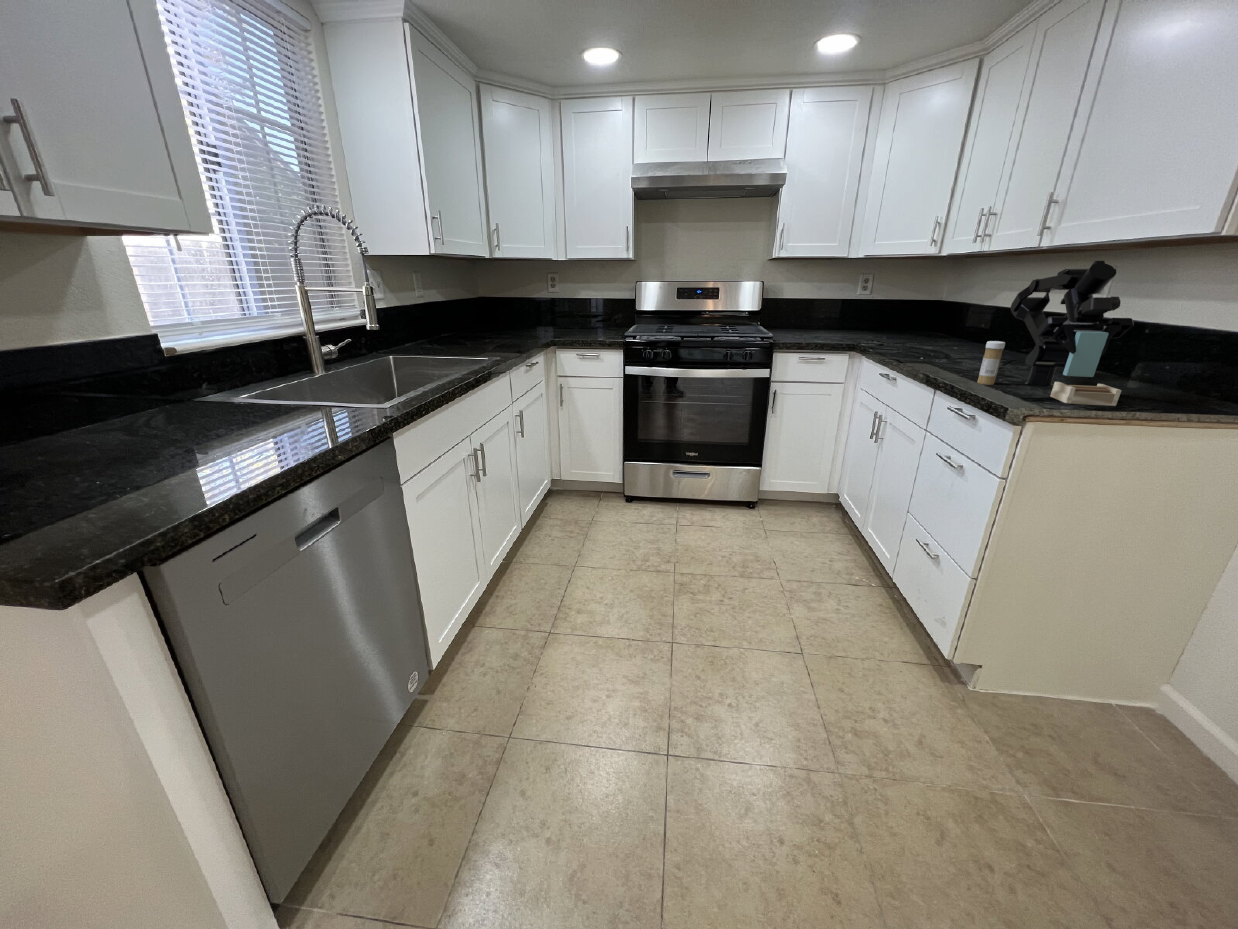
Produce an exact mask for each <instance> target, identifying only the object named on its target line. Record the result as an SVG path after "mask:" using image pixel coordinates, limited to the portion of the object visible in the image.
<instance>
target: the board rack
mask: <svg viewBox="0 0 1238 929" xmlns="http://www.w3.org/2000/svg"><path fill="white" fill-rule="evenodd" d="M1053 384H1054V385H1052V390H1051V393H1050V397H1051V398H1053V399H1055V400H1058V401H1060V402H1062V403H1065V404H1070V405H1071V404H1074V405H1089V406H1090V405H1091V406H1092V405H1093V406H1094V405H1095V406H1112V407H1116V406H1117V404H1118V401H1119V398H1120V395H1121V393H1122V390H1121V389H1119V388H1116V387H1112V386H1109V385H1107V384H1104V383H1097V385H1096V386H1104V387H1107V389H1108V390H1110V393H1100V392H1079V391H1075V389H1076V388H1074V387H1071V386H1069V385H1070V384H1066V383H1064V382H1060V381H1054V383H1053Z"/></svg>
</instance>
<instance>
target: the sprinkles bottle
mask: <svg viewBox="0 0 1238 929" xmlns="http://www.w3.org/2000/svg"><path fill="white" fill-rule="evenodd" d="M1005 346H1006V342H1005V341H999V340H994V341H993V340H989V341H987V342H986V344H985V351H984V354H983V357H982V361H981V366H980V370H979V374H978V379H977V381H976V383H977V384H980V385H989V386H991V385H993V386H994V385H995V381H996V378H997V375H998V371H999V368H1000V364H1001V359H1002V356H1003V351H1004V349H1005Z"/></svg>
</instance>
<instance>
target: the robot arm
mask: <svg viewBox="0 0 1238 929" xmlns="http://www.w3.org/2000/svg"><path fill="white" fill-rule="evenodd" d="M1116 275H1117V269H1116V268H1114V266H1112V265H1111V264H1108V263H1106V262H1105V260H1095V261H1093V263H1092V264H1091V266H1090V267H1089V268H1063V270H1061V271H1058V272H1057V274H1056V275H1053V276H1048V277H1044V278H1043V277H1042V278H1036V279H1032V280H1031V282H1030V284H1029V285H1028V286H1027V287H1025V288H1024V289H1022V290H1021V291H1019V292H1018V293H1017V294H1016V296H1015V298H1014V300H1012V302H1011V305H1010V312H1011V314H1012V315H1013V316H1014V317H1015V318H1016V319H1018V320H1021V321H1023V322H1024V323H1025V326H1026V327H1027V329H1028V331H1029V333H1030V335H1031V337H1032V340H1033V341H1034V343H1035V346H1034V347H1033V349H1032V350H1031V351H1030V352H1029V353H1028V354H1027V356H1026V357H1025V365H1027V366H1031V369H1030V373H1029V376H1028V380H1027V381H1026V382H1025V383H1024V385H1033V386H1039V387H1041V386H1043V387H1045V386H1054V383H1053V380H1054V377H1055V374H1056V371H1057V368H1065V366H1066V363H1067V360H1068V357H1069V354H1070V352H1071V353H1072V354H1074V353H1075V352H1076V344H1075V339H1074V338H1075V335H1074V332H1106V333H1109V334H1108V337H1107V340H1106V342H1105V345H1104V348H1103V351H1102V353H1101V356H1102V355H1104V354H1105V353H1106V352H1107V348H1108V346H1109V343H1110V340H1111V339H1112V340H1117V339H1120V338H1122V337H1123V336H1125V334H1126V333H1127V332H1128V331H1129V330H1130V329H1131V328H1133V327H1134V326H1135V324H1134V323H1135V322H1134V320H1133V318H1131V317H1112V318H1111V319H1110V320H1109V321H1108V322H1107V323H1101V322H1100V323H1099V321H1100V320H1102V319H1103V318H1105V314H1106V313H1108V312H1111V311H1113V312H1114V311H1115V310H1117V309H1119V308H1120V306H1121V298H1120V296H1109V297H1102V296H1101V297H1100V296H1099V297H1094V296H1093V295H1096V294H1099V293H1100V292H1102V290H1104V288H1105V287H1107V285H1108V284H1109V283H1110V282H1111V281H1112V280H1113V279H1114V277H1115V276H1116ZM1056 290H1058V291H1066V292H1065V293H1064V294H1063V298H1062V299H1061V300H1060V303H1059V304H1060V305H1065V310H1066V313H1065V314H1064V315H1063V316H1048V317H1046V316H1045V314H1044V310H1045V309H1046V308H1047V306H1048V305H1049V303H1050V301H1051V299H1050V293H1051V291H1056ZM1034 293H1045V295H1044V296H1043V297H1042V296H1041V297H1038V296H1037V297H1036V296H1035V297H1033V296H1032V295H1033V294H1034ZM1030 296H1031V297H1030Z"/></svg>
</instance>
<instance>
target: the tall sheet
mask: <svg viewBox="0 0 1238 929" xmlns="http://www.w3.org/2000/svg"><path fill="white" fill-rule="evenodd" d="M1108 334H1109V333H1106V332H1085V331H1075V335H1074V339H1075V344H1076V352H1075V353H1074V354H1072V353H1071V352H1070V354H1069V357H1068V360H1067V363H1066V366H1065V367H1064V370H1063V372H1062V375H1063V376H1065V377H1082V378H1083V377H1085V378H1093V377H1094V376H1095V374H1096V370H1097V368H1098V365H1099V363H1100V359H1101V356H1102V355H1101V353H1102V351H1103V348H1104V345H1105V342H1106V340H1107V337H1108Z"/></svg>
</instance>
